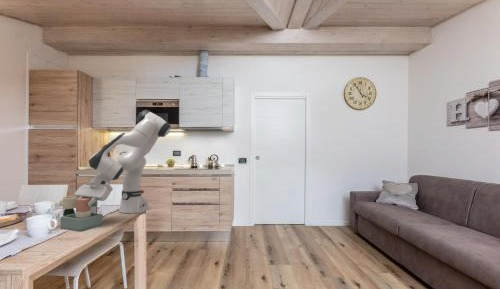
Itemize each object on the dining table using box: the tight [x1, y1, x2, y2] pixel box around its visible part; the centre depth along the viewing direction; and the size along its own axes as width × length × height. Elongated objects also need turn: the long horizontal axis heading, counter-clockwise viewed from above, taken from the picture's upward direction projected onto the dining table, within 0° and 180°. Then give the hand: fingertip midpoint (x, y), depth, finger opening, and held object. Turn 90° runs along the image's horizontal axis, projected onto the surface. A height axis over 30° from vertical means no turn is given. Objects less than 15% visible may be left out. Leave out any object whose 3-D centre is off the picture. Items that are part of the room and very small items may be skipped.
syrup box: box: [91, 200, 98, 213], centre depth 172 cm, size 6×6×14 cm
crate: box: [59, 212, 104, 232], centre depth 156 cm, size 14×14×6 cm
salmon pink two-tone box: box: [75, 198, 91, 219], centre depth 156 cm, size 5×5×12 cm
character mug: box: [59, 195, 78, 216], centre depth 169 cm, size 11×7×13 cm, turn 98°
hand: (83, 204), depth 155 cm, fingers closed on salmon pink two-tone box, 5 cm apart
